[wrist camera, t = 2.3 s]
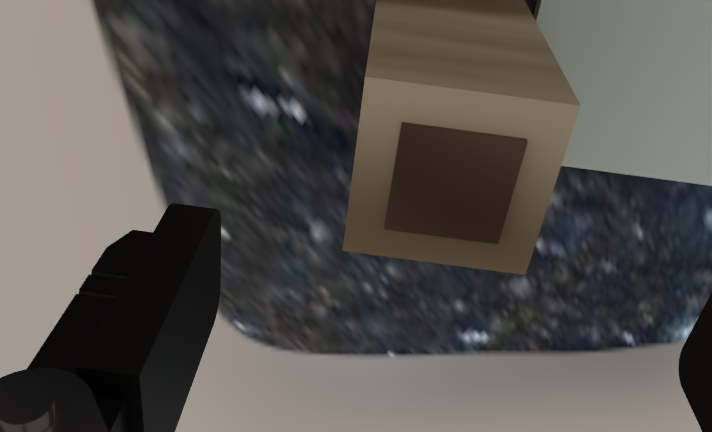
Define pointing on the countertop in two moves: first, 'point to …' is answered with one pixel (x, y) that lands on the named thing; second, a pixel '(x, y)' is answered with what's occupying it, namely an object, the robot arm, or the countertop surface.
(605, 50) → the flat grey rectangular slab
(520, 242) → the beech block
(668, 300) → the countertop surface
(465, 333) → the countertop surface
